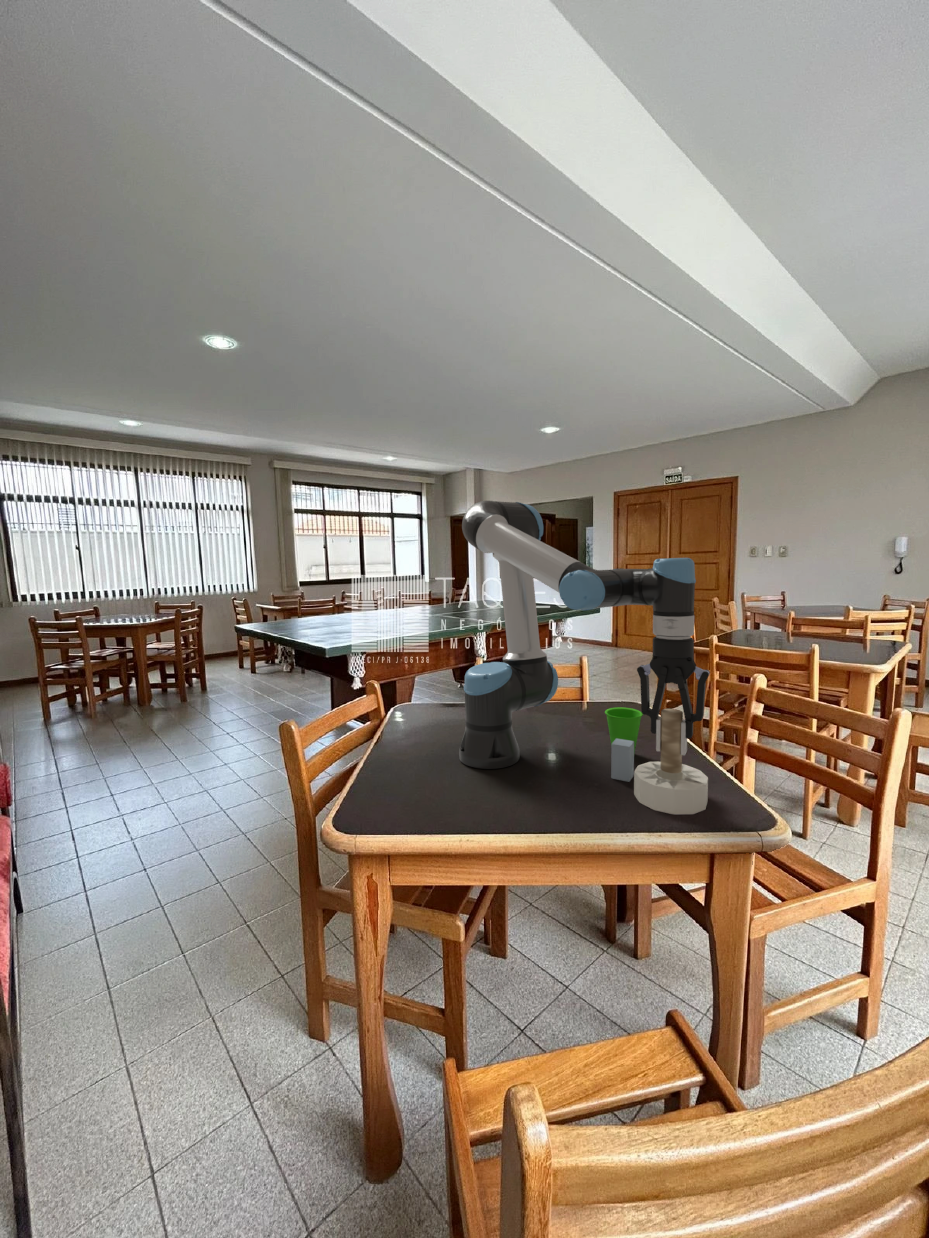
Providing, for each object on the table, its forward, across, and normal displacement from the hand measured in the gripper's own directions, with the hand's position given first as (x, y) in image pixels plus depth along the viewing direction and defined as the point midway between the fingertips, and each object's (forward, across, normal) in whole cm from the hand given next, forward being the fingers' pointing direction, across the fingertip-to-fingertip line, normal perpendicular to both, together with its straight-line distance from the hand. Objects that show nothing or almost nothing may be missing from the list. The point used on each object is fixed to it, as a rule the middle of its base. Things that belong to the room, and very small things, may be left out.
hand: (671, 750), depth 102 cm
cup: (+10, -14, +19) cm, 26 cm away
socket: (+10, 0, 0) cm, 10 cm away
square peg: (+10, -11, +6) cm, 16 cm away
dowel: (+4, 0, 0) cm, 4 cm away
